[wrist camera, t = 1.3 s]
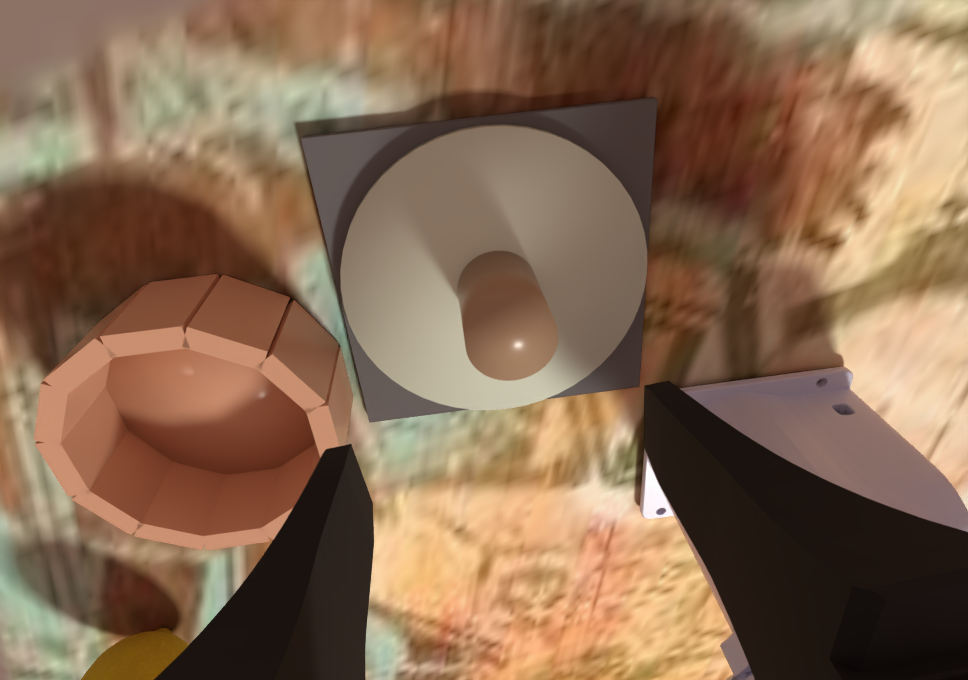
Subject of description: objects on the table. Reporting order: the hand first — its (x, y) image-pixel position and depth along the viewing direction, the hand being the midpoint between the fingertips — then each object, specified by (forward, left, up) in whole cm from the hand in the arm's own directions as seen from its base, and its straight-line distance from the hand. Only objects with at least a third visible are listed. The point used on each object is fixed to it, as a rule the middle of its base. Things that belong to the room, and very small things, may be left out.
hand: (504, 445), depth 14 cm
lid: (-1, 0, -10) cm, 10 cm away
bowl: (+11, +4, -10) cm, 15 cm away
